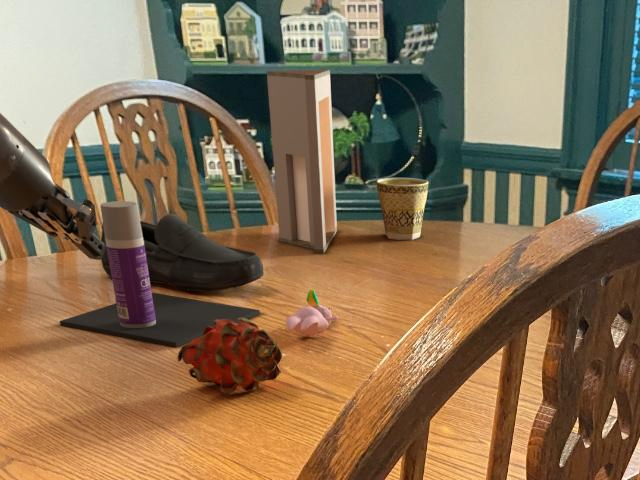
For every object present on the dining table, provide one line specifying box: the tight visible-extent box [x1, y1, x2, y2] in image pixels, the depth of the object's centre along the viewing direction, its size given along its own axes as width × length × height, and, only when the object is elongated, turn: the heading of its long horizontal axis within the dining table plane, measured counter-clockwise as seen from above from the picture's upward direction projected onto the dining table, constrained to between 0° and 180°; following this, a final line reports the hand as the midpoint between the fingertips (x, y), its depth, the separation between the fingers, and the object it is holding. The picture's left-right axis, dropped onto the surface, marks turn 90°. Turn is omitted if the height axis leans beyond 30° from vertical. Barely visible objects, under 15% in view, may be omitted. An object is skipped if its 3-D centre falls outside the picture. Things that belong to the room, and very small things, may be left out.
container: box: [99, 200, 156, 328], centre depth 118 cm, size 5×5×15 cm
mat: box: [59, 292, 261, 348], centre depth 126 cm, size 20×18×1 cm
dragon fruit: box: [175, 318, 283, 395], centre depth 102 cm, size 8×8×12 cm
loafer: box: [100, 213, 264, 292], centre depth 140 cm, size 10×29×10 cm, turn 71°
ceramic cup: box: [375, 177, 429, 241], centre depth 177 cm, size 13×10×10 cm
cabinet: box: [266, 69, 338, 254], centre depth 165 cm, size 21×10×28 cm, turn 179°
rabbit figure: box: [285, 288, 339, 338], centre depth 120 cm, size 6×6×15 cm
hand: (98, 253), depth 113 cm, fingers closed
